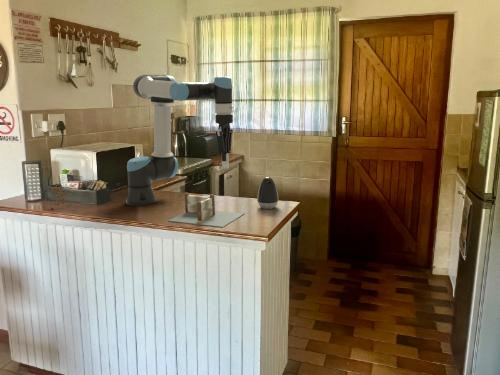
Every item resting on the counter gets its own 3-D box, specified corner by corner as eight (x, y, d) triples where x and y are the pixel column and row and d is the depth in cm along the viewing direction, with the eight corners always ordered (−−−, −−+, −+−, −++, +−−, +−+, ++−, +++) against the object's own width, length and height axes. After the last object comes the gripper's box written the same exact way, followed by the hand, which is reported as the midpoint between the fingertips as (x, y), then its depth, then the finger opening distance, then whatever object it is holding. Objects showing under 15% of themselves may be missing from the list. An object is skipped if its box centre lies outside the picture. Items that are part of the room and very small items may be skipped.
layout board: (168, 221, 188) (167, 220, 188) (193, 209, 208) (193, 208, 208) (222, 227, 178) (222, 226, 178) (244, 214, 197) (244, 213, 197)
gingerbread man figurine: (66, 205, 221) (63, 182, 219) (71, 206, 219) (68, 183, 217) (50, 209, 214) (47, 185, 211) (55, 210, 212) (52, 186, 209)
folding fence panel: (209, 214, 196) (208, 197, 194) (212, 214, 195) (212, 197, 193) (196, 220, 186) (196, 202, 185) (200, 220, 186) (199, 202, 184)
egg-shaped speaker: (261, 211, 202) (260, 179, 199) (254, 206, 212) (254, 175, 208) (281, 209, 204) (281, 178, 201) (274, 204, 214) (274, 174, 211)
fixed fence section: (184, 212, 201) (183, 193, 199) (187, 210, 204) (186, 192, 202) (213, 215, 195) (212, 195, 193) (216, 213, 198) (215, 194, 196)
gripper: (225, 114, 177) (227, 171, 181) (237, 113, 188) (239, 166, 193) (209, 114, 179) (211, 170, 184) (222, 113, 191) (223, 165, 196)
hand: (225, 168), depth 189 cm, fingers closed
